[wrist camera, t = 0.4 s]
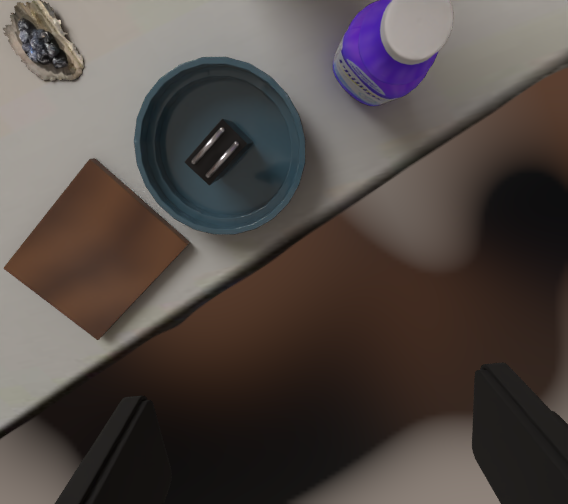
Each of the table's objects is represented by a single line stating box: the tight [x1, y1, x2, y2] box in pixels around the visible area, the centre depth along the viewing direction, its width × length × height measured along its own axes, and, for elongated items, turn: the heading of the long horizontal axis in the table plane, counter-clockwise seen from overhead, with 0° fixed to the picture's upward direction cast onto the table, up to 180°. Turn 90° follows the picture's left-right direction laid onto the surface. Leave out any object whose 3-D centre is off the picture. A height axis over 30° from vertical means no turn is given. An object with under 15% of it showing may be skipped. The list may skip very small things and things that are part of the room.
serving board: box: [4, 158, 190, 340], centre depth 44 cm, size 14×18×1 cm
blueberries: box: [3, 0, 84, 82], centre depth 37 cm, size 7×8×2 cm
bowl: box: [134, 57, 305, 234], centre depth 39 cm, size 17×17×4 cm
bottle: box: [333, 0, 454, 106], centre depth 30 cm, size 7×6×17 cm
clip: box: [185, 119, 253, 185], centre depth 38 cm, size 3×6×6 cm, turn 136°
